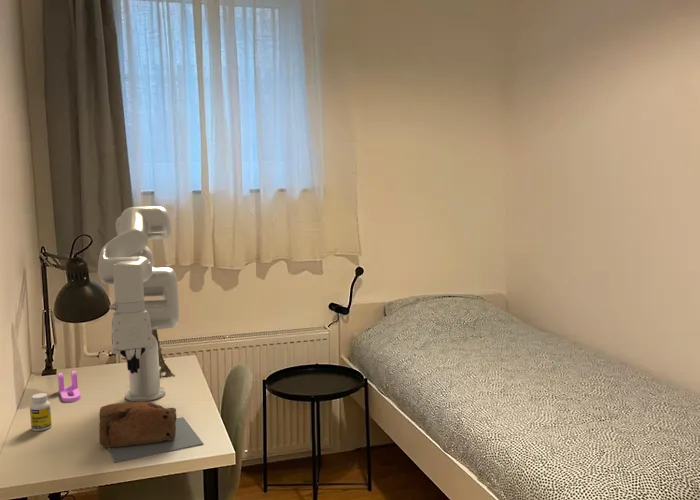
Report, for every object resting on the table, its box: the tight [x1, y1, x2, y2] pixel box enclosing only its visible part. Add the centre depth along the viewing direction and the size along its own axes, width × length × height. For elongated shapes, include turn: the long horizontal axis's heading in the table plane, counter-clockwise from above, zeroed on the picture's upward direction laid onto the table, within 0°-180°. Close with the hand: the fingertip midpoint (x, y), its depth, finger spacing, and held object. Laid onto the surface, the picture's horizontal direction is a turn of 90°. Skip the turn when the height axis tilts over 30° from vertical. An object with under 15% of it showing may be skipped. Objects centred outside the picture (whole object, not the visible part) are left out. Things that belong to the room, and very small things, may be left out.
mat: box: [107, 416, 204, 464], centre depth 186 cm, size 22×23×1 cm
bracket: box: [57, 370, 82, 403], centre depth 221 cm, size 13×6×7 cm, turn 29°
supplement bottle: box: [29, 392, 52, 432], centre depth 194 cm, size 5×5×10 cm
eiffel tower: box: [151, 329, 176, 378], centre depth 241 cm, size 11×11×25 cm
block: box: [98, 401, 177, 448], centre depth 183 cm, size 11×8×20 cm
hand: (133, 371), depth 184 cm, fingers closed
